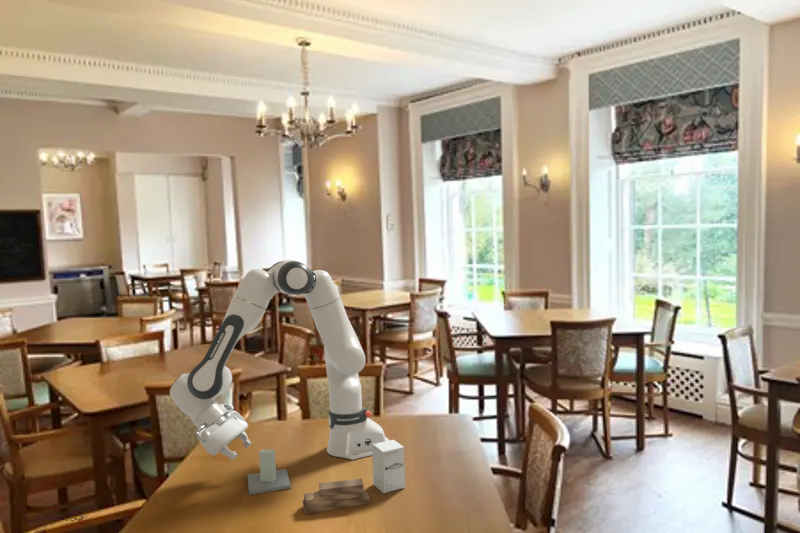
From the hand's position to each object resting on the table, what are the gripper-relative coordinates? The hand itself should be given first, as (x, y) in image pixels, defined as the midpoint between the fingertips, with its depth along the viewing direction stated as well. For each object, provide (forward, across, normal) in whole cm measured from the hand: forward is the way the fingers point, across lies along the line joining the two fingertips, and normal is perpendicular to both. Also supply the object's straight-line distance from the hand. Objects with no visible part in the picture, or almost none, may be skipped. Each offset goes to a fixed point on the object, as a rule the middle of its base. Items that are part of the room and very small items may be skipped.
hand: (242, 451), depth 179 cm
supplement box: (+39, +3, -25) cm, 46 cm away
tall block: (+12, 0, 0) cm, 12 cm away
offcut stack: (+30, -10, -17) cm, 36 cm away
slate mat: (+12, 0, +1) cm, 12 cm away
